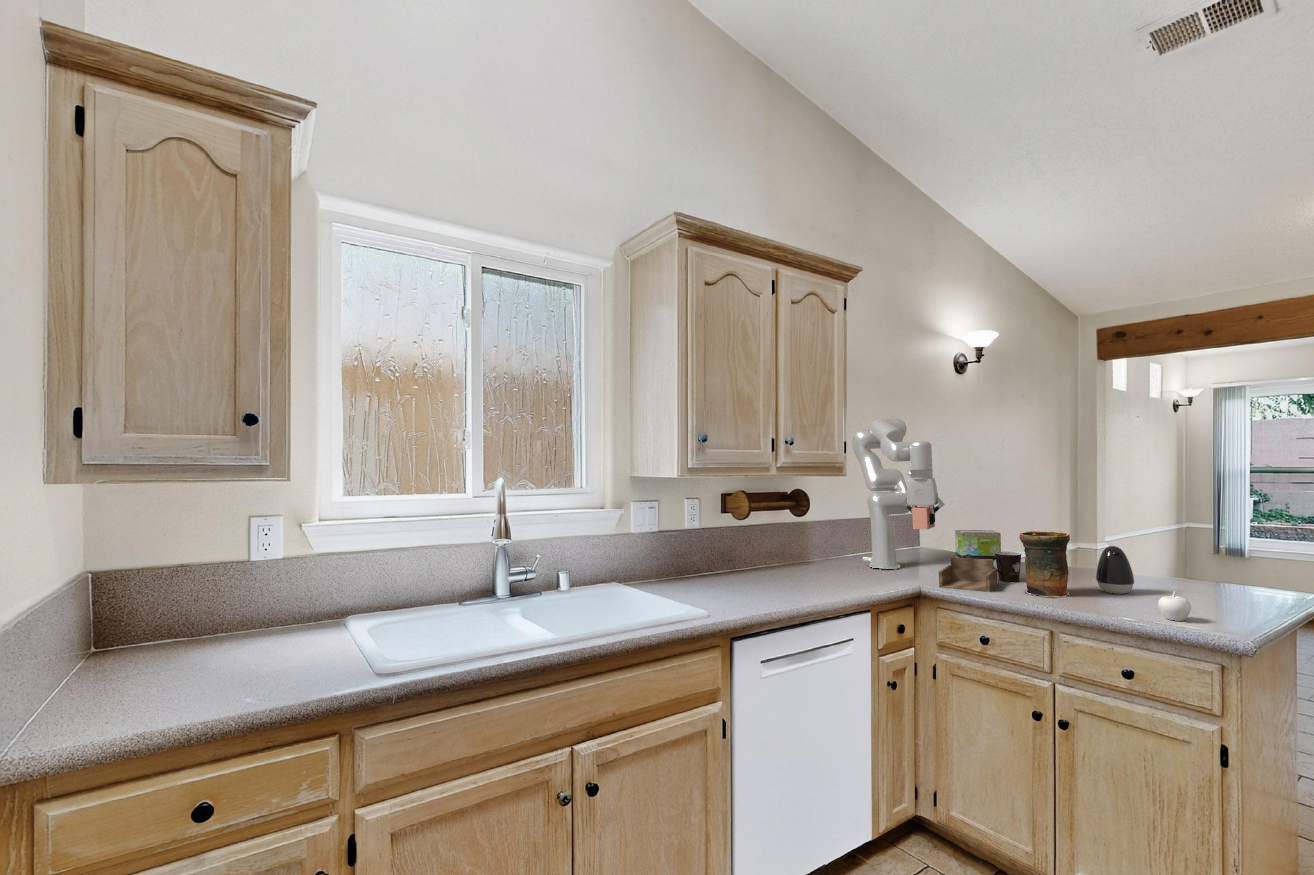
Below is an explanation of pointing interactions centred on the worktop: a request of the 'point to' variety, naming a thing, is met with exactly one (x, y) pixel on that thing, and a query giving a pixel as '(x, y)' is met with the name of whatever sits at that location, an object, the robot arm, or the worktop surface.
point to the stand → (969, 575)
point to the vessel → (1046, 562)
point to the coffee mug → (1008, 566)
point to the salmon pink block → (921, 518)
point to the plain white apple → (1174, 607)
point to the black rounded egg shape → (1114, 571)
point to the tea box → (977, 544)
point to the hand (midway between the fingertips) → (923, 523)
